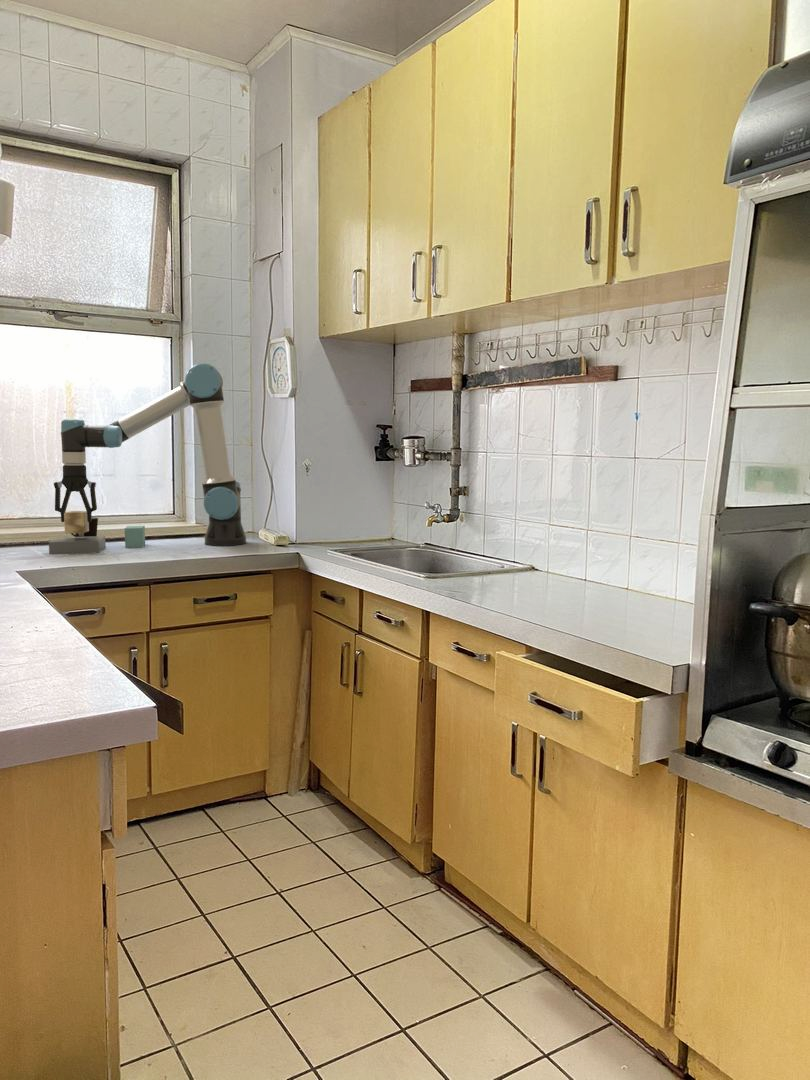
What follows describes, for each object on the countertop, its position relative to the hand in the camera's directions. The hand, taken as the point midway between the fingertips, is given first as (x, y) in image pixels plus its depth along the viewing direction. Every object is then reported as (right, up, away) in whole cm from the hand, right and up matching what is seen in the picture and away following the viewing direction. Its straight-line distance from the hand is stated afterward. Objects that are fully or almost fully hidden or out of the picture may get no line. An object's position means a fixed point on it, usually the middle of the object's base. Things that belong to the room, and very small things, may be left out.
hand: (76, 531), depth 286 cm
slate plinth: (0, -7, +1) cm, 7 cm away
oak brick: (0, 0, 0) cm, 0 cm away
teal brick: (+16, -5, +13) cm, 21 cm away
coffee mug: (-3, -5, +15) cm, 16 cm away
